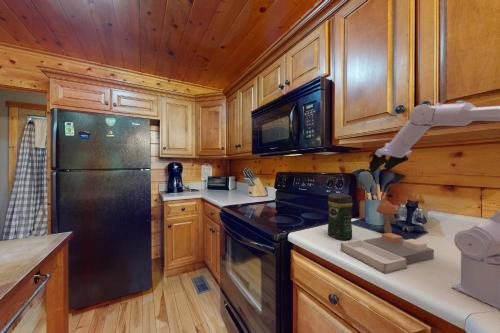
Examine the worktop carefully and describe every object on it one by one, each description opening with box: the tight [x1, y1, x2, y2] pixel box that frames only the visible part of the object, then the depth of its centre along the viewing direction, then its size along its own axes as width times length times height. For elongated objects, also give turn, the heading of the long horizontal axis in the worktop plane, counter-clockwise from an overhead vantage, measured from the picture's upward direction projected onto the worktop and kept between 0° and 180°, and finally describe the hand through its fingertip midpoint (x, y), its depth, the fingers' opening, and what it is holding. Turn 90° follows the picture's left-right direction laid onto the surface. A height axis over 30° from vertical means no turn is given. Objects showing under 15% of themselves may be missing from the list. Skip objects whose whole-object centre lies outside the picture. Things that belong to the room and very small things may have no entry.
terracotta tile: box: [381, 232, 403, 244], centre depth 74 cm, size 4×4×2 cm
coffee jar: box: [327, 192, 353, 241], centre depth 86 cm, size 10×8×19 cm
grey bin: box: [340, 239, 408, 275], centre depth 66 cm, size 16×9×3 cm, turn 20°
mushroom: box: [376, 200, 398, 234], centre depth 90 cm, size 8×8×15 cm
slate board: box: [362, 236, 435, 266], centre depth 70 cm, size 14×15×3 cm
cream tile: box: [403, 238, 428, 251], centre depth 68 cm, size 4×4×2 cm
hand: (378, 169), depth 75 cm, fingers open, 7 cm apart
